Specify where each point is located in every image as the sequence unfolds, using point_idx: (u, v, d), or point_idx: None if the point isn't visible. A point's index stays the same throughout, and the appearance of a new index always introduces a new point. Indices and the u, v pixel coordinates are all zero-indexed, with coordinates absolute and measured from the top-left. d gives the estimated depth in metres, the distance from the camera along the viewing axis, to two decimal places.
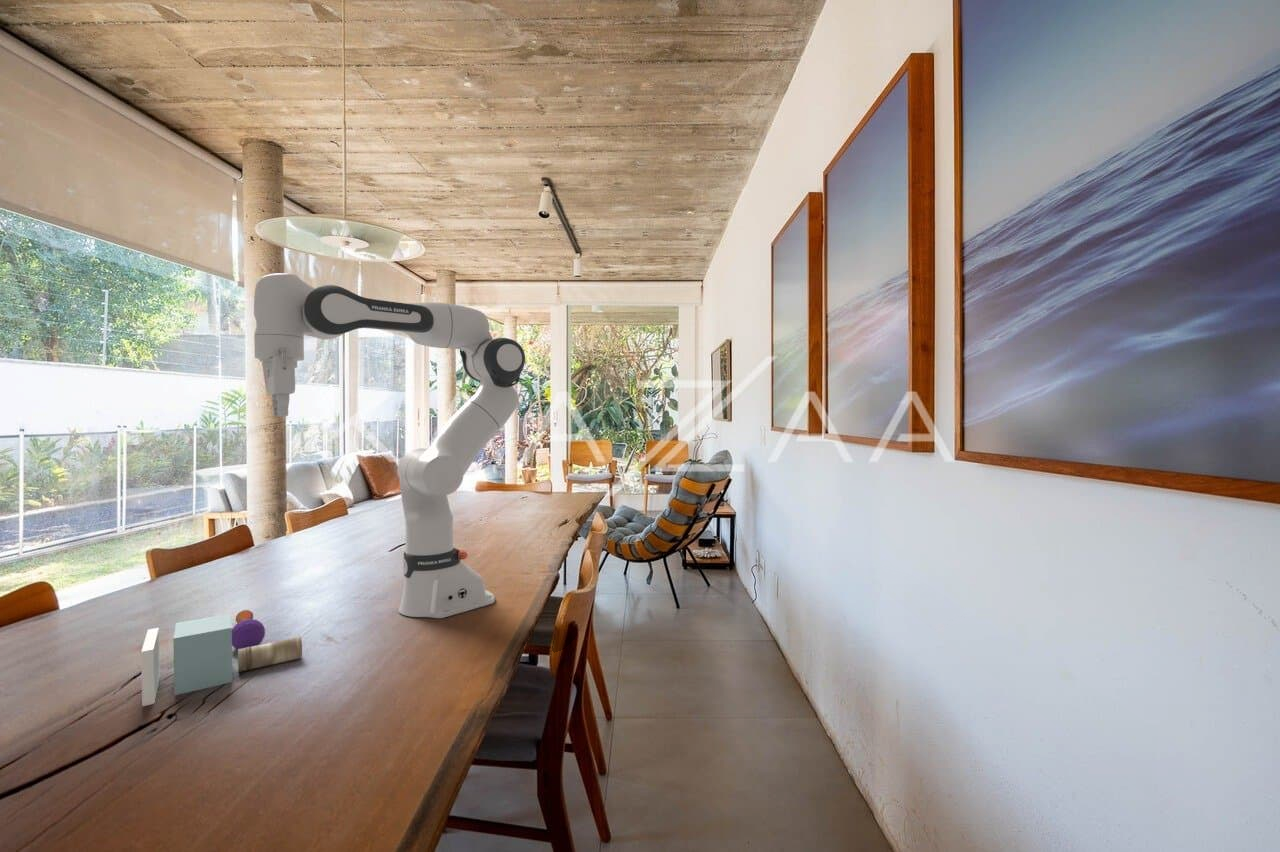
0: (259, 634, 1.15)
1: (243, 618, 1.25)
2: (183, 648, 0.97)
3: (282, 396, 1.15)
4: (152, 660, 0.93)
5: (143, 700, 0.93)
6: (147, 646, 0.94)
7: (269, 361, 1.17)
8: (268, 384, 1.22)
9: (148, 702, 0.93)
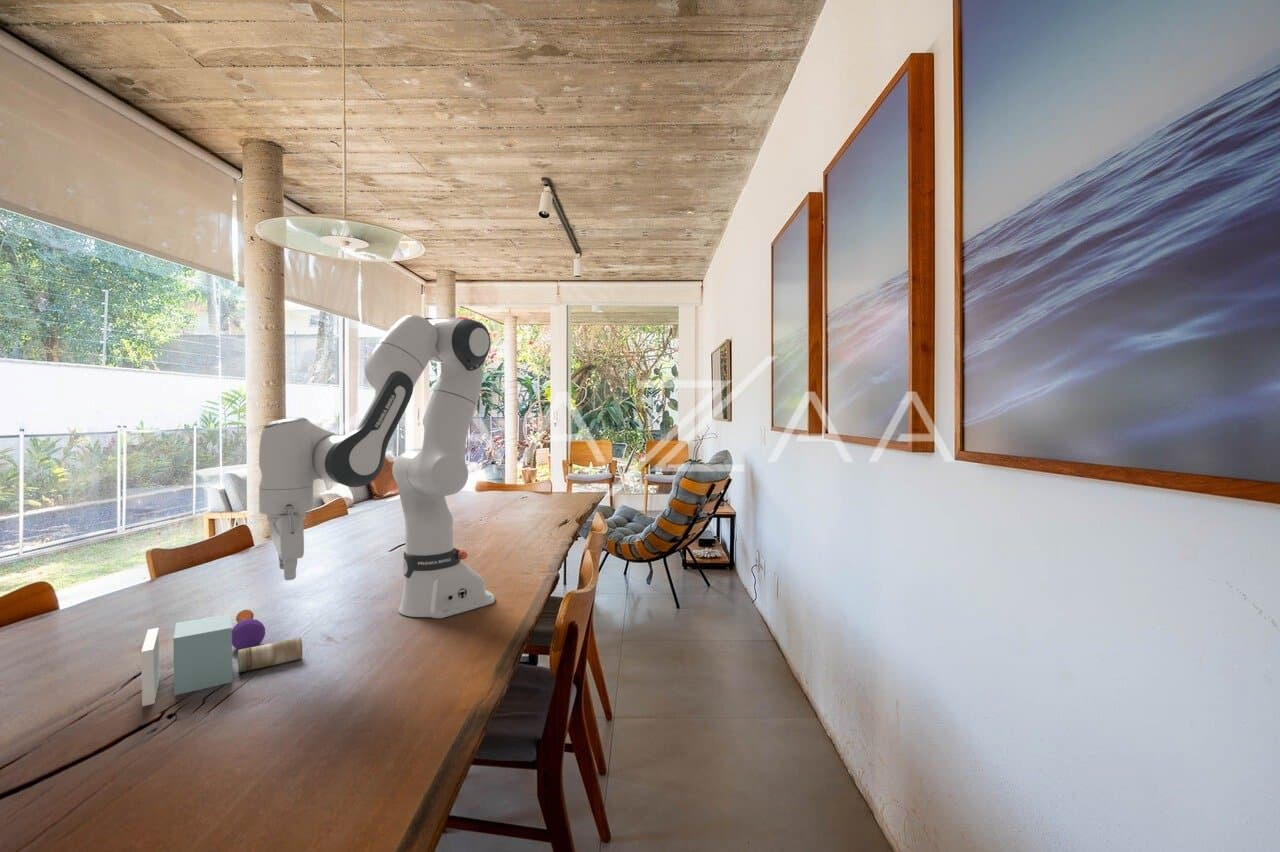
0: (259, 633, 1.15)
1: (243, 618, 1.25)
2: (183, 648, 0.97)
3: (289, 559, 1.04)
4: (152, 660, 0.93)
5: (143, 700, 0.93)
6: (147, 646, 0.94)
7: (275, 517, 1.06)
8: None
9: (148, 702, 0.93)
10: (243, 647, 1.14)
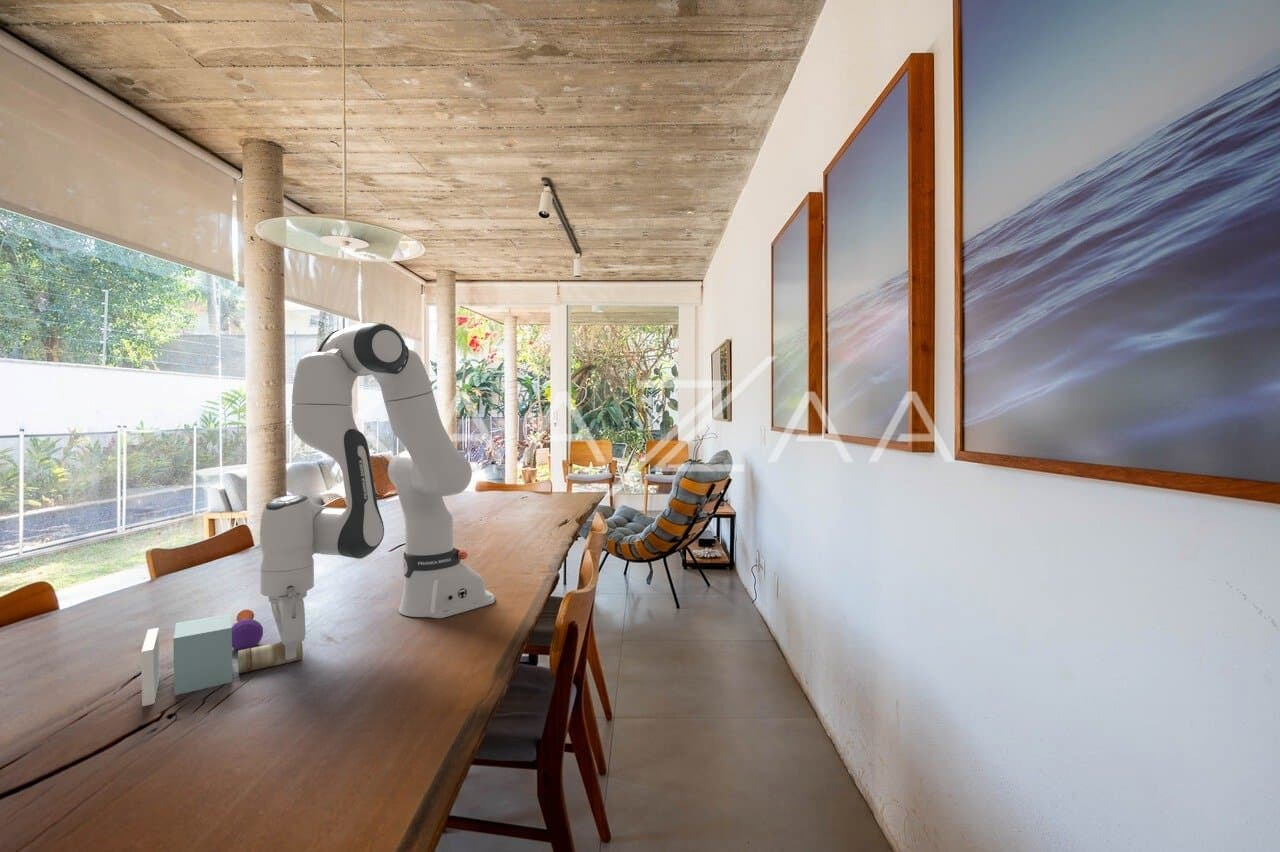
0: (257, 634, 1.15)
1: (243, 618, 1.25)
2: (183, 648, 0.97)
3: None
4: (152, 660, 0.93)
5: (143, 700, 0.93)
6: (147, 646, 0.94)
7: (276, 598, 1.06)
8: (275, 612, 1.12)
9: (148, 702, 0.93)
10: (240, 647, 1.14)
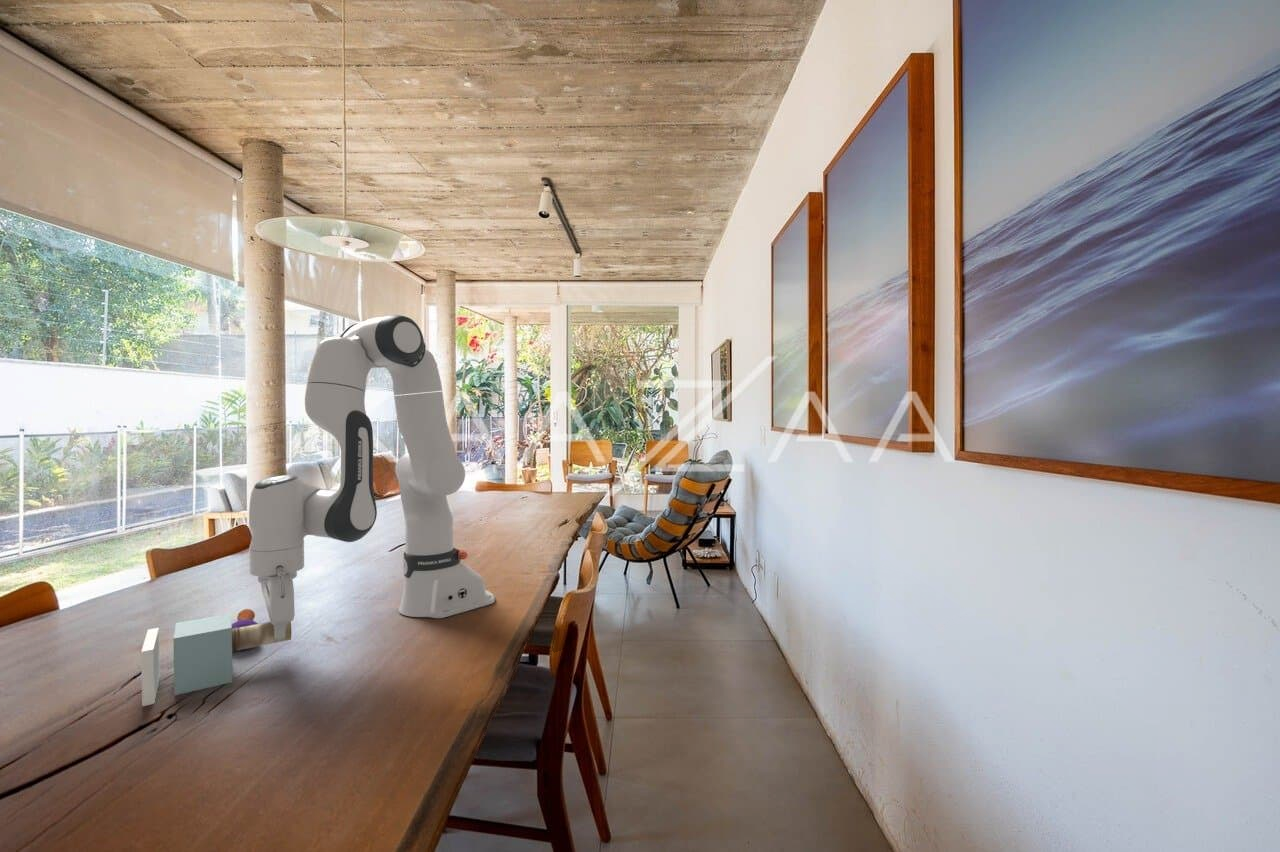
0: None
1: (243, 617, 1.25)
2: (183, 648, 0.97)
3: None
4: (152, 660, 0.93)
5: (143, 700, 0.93)
6: (147, 646, 0.94)
7: (266, 578, 1.05)
8: None
9: (148, 702, 0.93)
10: None
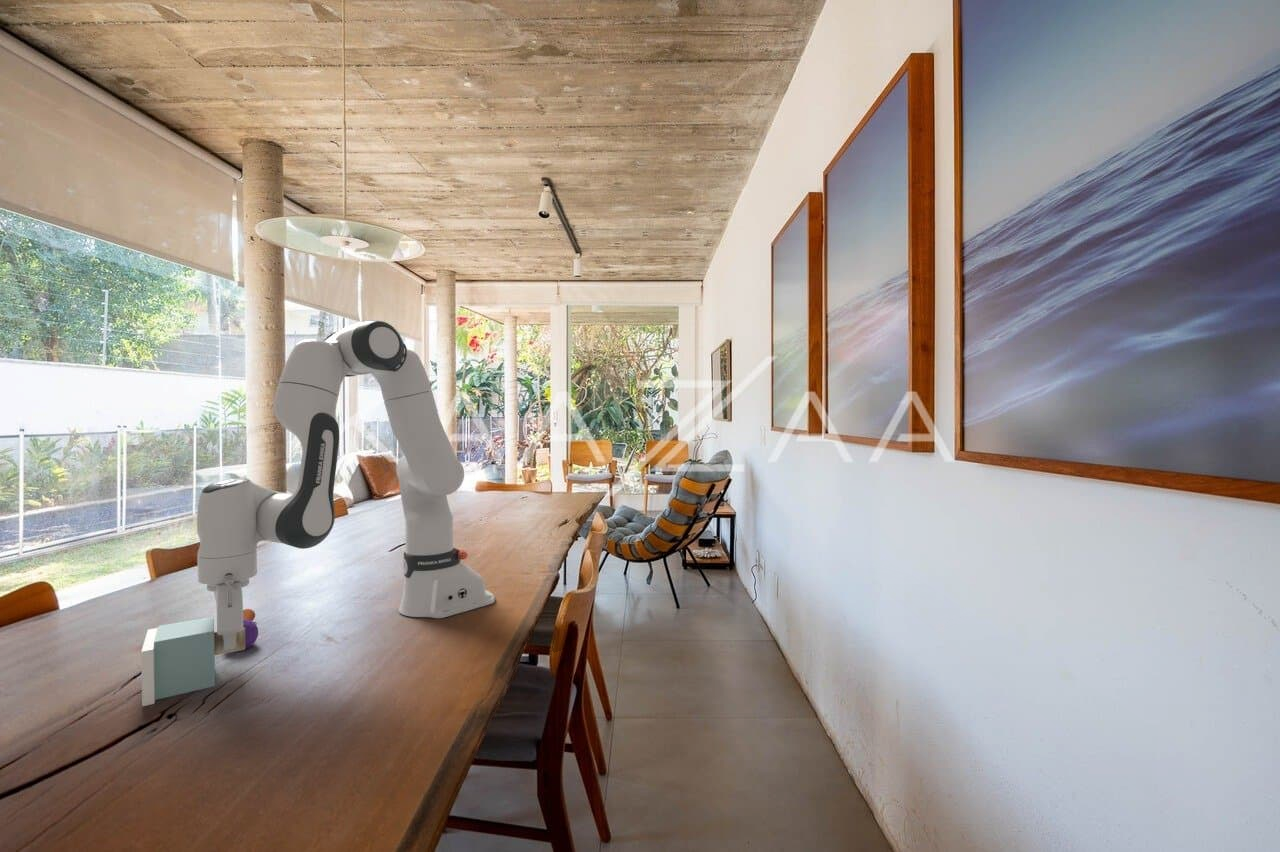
0: (251, 634, 1.15)
1: None
2: (164, 652, 0.95)
3: None
4: (152, 660, 0.93)
5: (143, 700, 0.93)
6: (147, 646, 0.94)
7: (214, 587, 1.01)
8: None
9: (148, 702, 0.93)
10: None
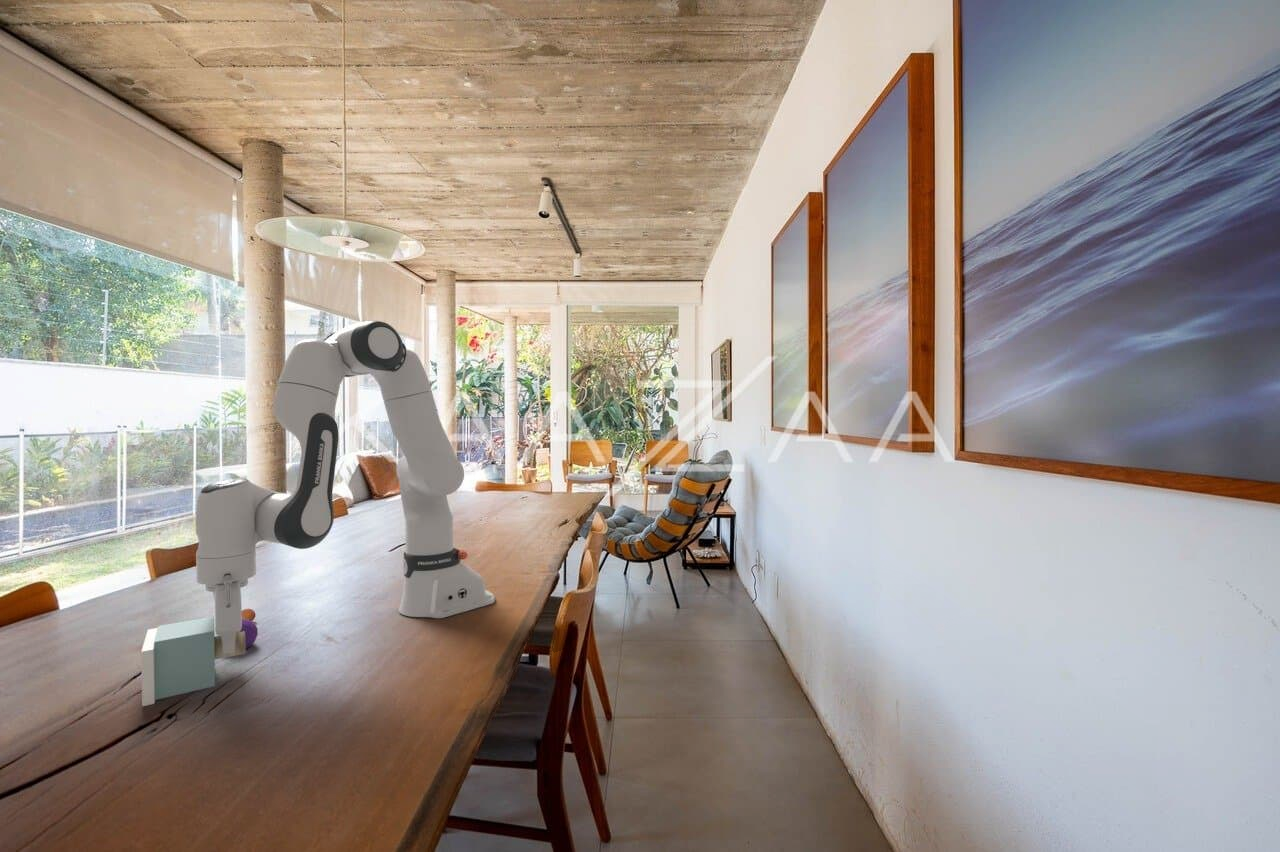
0: (250, 634, 1.15)
1: (242, 617, 1.25)
2: (164, 652, 0.95)
3: None
4: (152, 660, 0.93)
5: (143, 700, 0.93)
6: (147, 646, 0.94)
7: (213, 587, 1.01)
8: None
9: (148, 702, 0.93)
10: None
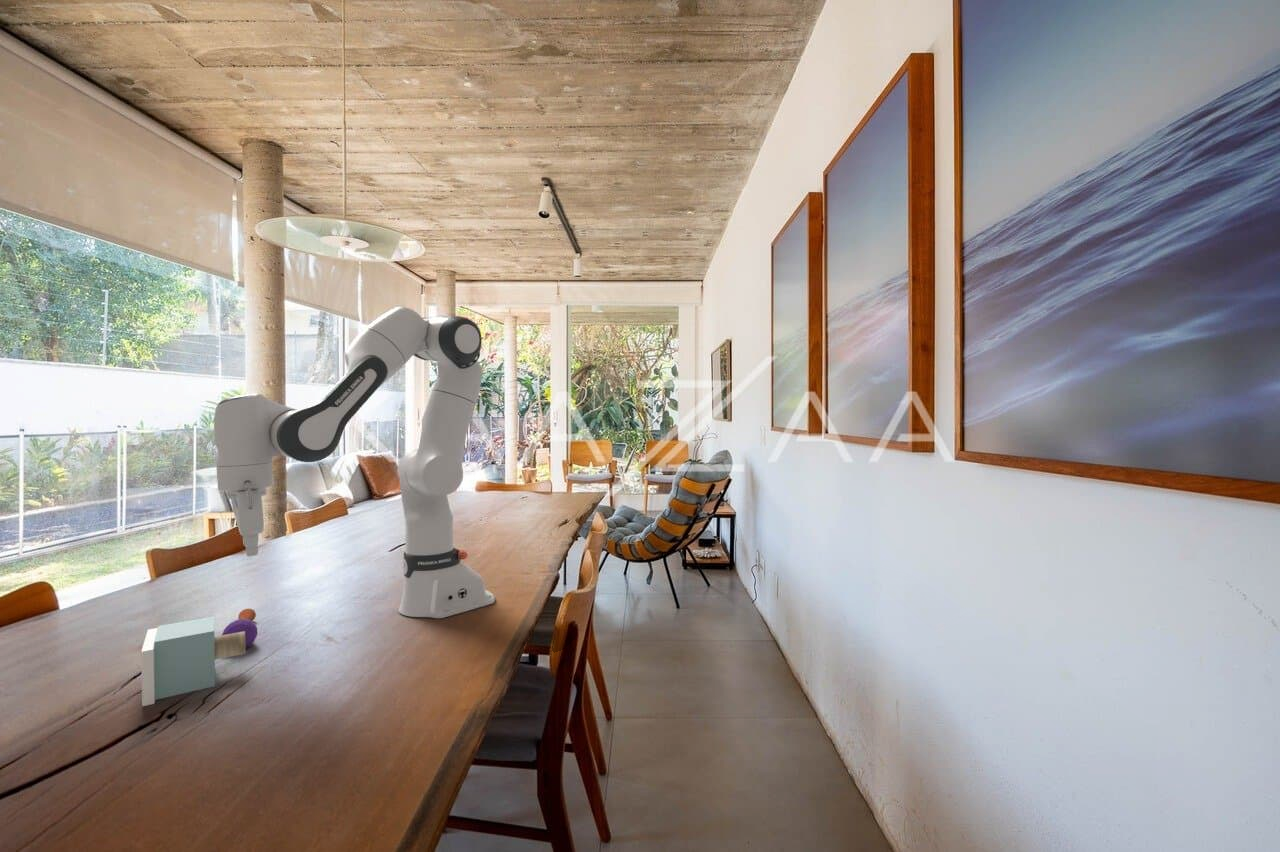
0: (250, 634, 1.15)
1: (243, 617, 1.25)
2: (164, 652, 0.95)
3: (250, 535, 1.04)
4: (152, 660, 0.93)
5: (143, 700, 0.93)
6: (147, 646, 0.94)
7: (234, 494, 1.05)
8: None
9: (148, 702, 0.93)
10: None
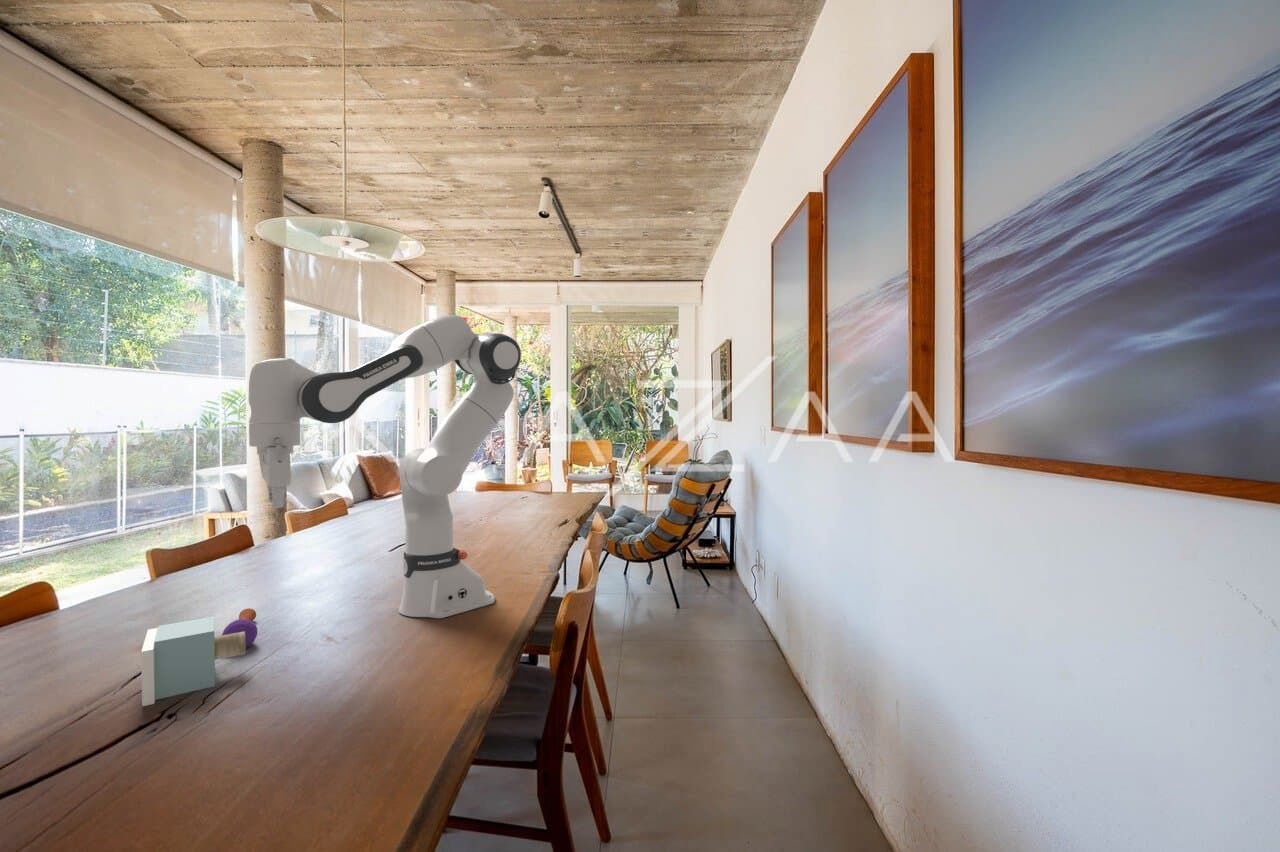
0: (250, 634, 1.15)
1: (243, 617, 1.26)
2: (164, 652, 0.95)
3: (277, 488, 1.11)
4: (152, 660, 0.93)
5: (143, 700, 0.93)
6: (147, 646, 0.94)
7: (264, 450, 1.13)
8: (263, 470, 1.19)
9: (148, 702, 0.93)
10: None
